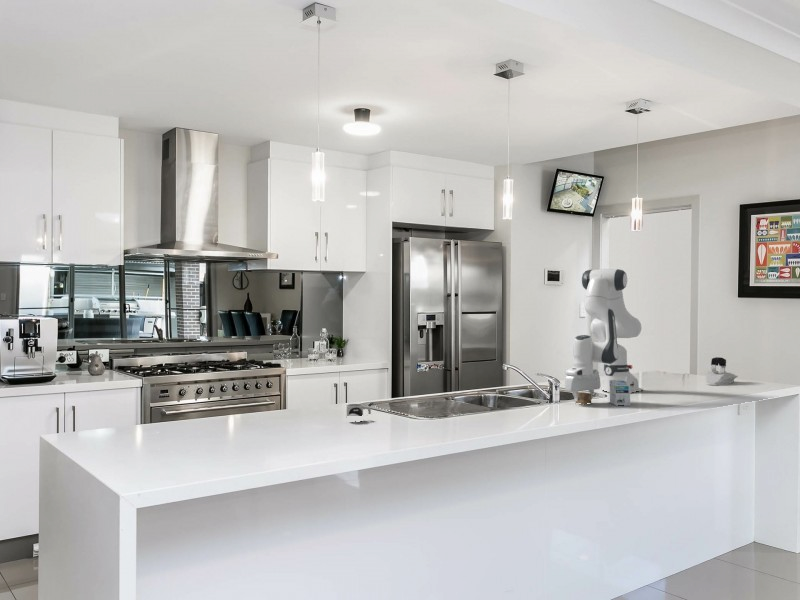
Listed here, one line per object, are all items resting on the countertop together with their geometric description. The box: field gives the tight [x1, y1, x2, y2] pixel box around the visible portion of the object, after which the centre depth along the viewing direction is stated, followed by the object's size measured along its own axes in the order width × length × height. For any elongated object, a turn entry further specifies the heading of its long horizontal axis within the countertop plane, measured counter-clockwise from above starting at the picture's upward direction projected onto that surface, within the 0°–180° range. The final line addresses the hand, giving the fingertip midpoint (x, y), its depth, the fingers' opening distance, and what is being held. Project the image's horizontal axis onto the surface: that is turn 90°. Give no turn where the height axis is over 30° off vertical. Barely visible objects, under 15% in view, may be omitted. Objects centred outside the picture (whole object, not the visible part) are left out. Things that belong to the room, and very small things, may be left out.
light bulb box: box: [609, 380, 631, 407], centre depth 319 cm, size 11×7×11 cm, turn 179°
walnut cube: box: [575, 391, 592, 405], centre depth 321 cm, size 5×5×5 cm
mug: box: [345, 403, 372, 417], centre depth 281 cm, size 10×7×7 cm, turn 105°
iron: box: [705, 356, 739, 386], centre depth 393 cm, size 11×24×15 cm, turn 135°
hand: (583, 400), depth 321 cm, fingers open, 7 cm apart
